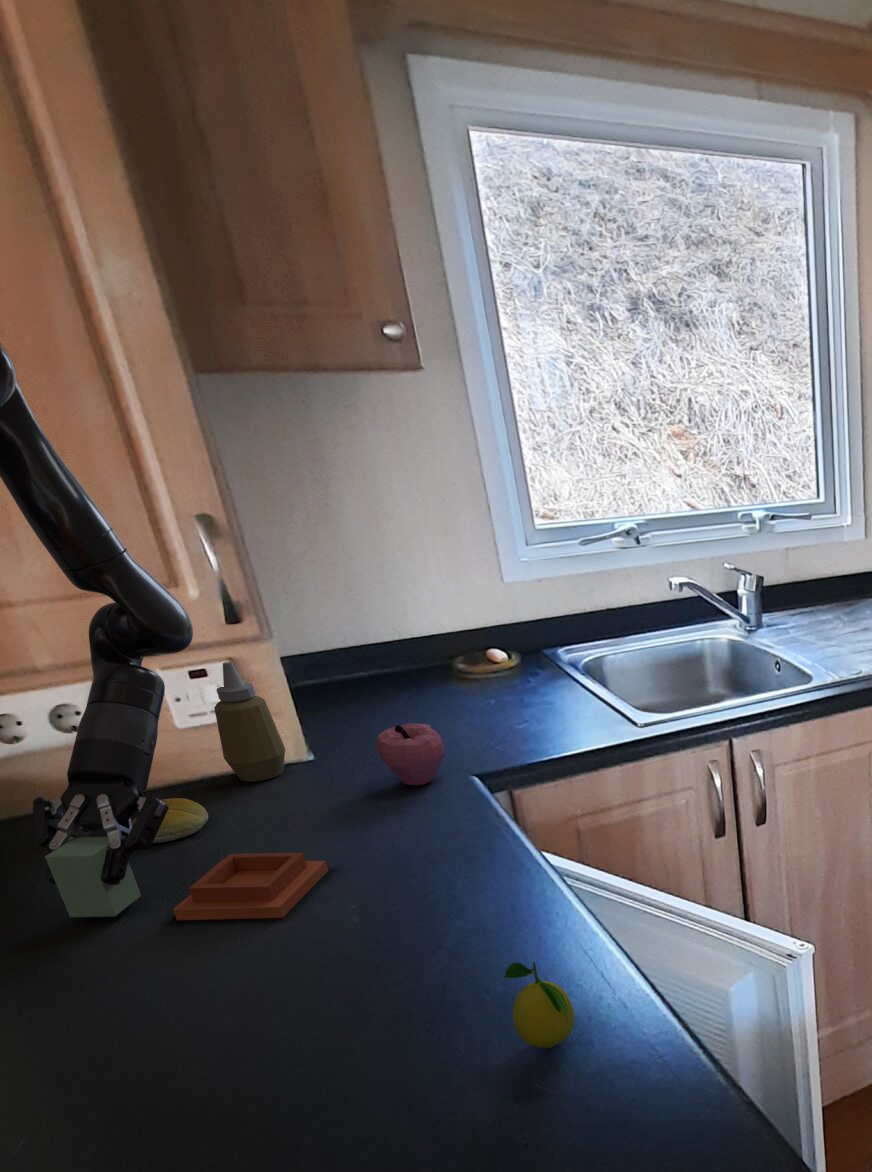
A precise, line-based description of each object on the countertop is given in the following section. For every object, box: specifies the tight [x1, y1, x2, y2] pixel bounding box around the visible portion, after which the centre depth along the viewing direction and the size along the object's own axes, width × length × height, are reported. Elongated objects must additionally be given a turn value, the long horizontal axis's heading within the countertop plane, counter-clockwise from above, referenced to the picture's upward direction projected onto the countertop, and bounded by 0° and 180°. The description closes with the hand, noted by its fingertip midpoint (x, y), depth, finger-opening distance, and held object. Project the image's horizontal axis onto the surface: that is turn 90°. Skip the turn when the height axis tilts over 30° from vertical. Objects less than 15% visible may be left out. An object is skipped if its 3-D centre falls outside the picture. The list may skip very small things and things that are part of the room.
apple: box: [375, 722, 446, 787], centre depth 159 cm, size 10×9×10 cm
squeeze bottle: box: [213, 661, 286, 782], centre depth 159 cm, size 8×8×18 cm
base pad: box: [172, 852, 329, 921], centre depth 129 cm, size 12×12×4 cm
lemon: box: [504, 960, 575, 1049], centre depth 102 cm, size 7×6×10 cm
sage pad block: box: [44, 836, 142, 918], centre depth 123 cm, size 5×5×8 cm
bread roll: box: [131, 797, 209, 844], centre depth 144 cm, size 8×9×4 cm
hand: (84, 882), depth 121 cm, fingers closed on sage pad block, 5 cm apart
